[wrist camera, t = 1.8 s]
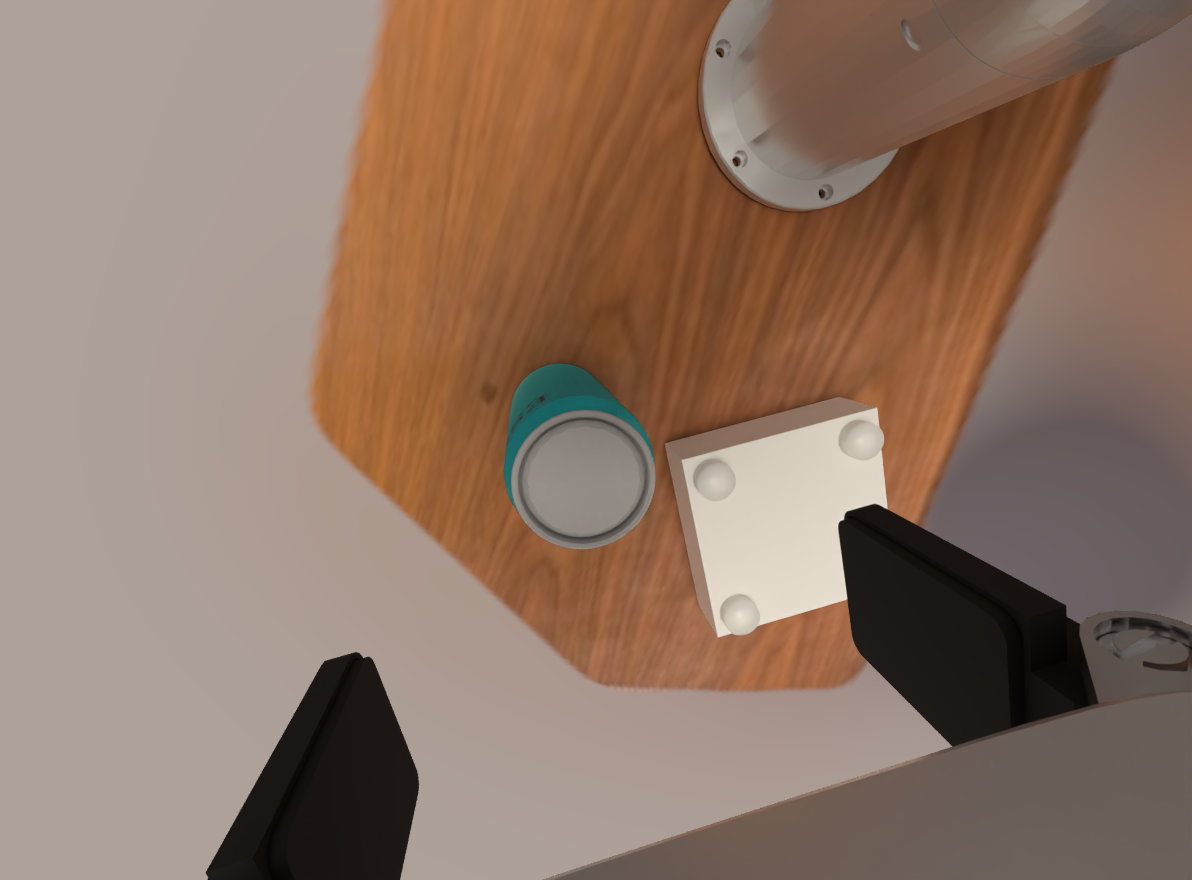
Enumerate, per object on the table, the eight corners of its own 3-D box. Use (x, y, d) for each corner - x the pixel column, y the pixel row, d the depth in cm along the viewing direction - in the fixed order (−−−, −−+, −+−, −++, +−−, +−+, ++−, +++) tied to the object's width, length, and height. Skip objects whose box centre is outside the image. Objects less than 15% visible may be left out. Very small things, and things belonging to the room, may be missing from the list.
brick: (664, 443, 35) (686, 465, 30) (839, 396, 36) (887, 410, 31) (698, 604, 38) (723, 646, 34) (858, 558, 39) (905, 593, 34)
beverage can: (494, 426, 34) (473, 517, 19) (538, 342, 33) (551, 372, 18) (576, 467, 35) (614, 581, 20) (621, 388, 34) (693, 448, 20)
